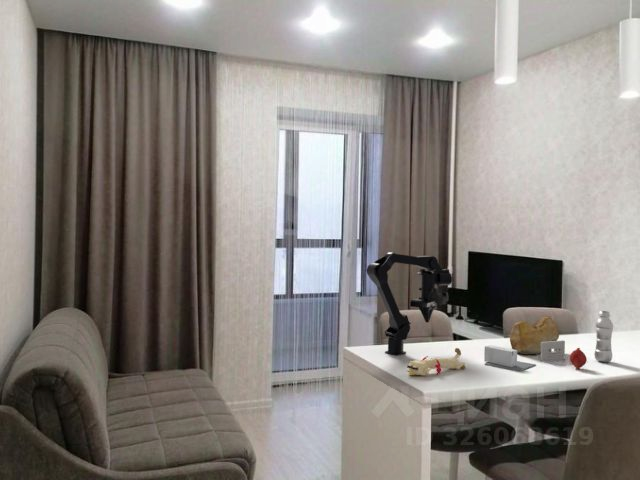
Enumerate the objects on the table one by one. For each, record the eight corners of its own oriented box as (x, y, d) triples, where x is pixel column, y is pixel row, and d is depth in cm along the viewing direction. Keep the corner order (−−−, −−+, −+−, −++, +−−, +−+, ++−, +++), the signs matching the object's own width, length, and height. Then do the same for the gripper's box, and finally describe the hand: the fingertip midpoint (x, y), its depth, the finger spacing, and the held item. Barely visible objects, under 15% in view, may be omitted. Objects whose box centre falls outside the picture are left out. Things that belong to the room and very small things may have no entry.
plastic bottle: (610, 360, 227) (612, 311, 227) (613, 364, 220) (615, 313, 220) (593, 359, 229) (594, 310, 229) (595, 362, 223) (596, 312, 222)
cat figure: (449, 369, 213) (398, 371, 200) (451, 345, 214) (400, 346, 200) (469, 375, 205) (418, 377, 191) (471, 350, 205) (420, 351, 192)
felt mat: (520, 371, 206) (520, 370, 206) (484, 364, 215) (484, 363, 215) (535, 365, 216) (535, 364, 216) (501, 359, 226) (501, 358, 226)
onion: (566, 366, 215) (566, 345, 215) (580, 366, 215) (581, 345, 215) (574, 370, 209) (575, 349, 209) (589, 370, 210) (589, 349, 209)
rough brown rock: (534, 347, 256) (532, 314, 256) (565, 351, 241) (563, 316, 242) (496, 353, 245) (494, 318, 246) (526, 357, 230) (523, 320, 231)
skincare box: (490, 359, 222) (517, 366, 213) (483, 361, 219) (511, 368, 210) (490, 344, 222) (518, 350, 213) (483, 345, 219) (511, 351, 210)
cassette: (561, 359, 229) (562, 340, 229) (565, 360, 227) (566, 341, 227) (539, 361, 224) (539, 341, 224) (542, 362, 222) (543, 342, 222)
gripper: (432, 288, 226) (431, 327, 226) (456, 285, 240) (455, 322, 240) (409, 286, 234) (408, 323, 234) (433, 283, 247) (432, 319, 248)
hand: (427, 322), depth 239 cm, fingers closed
